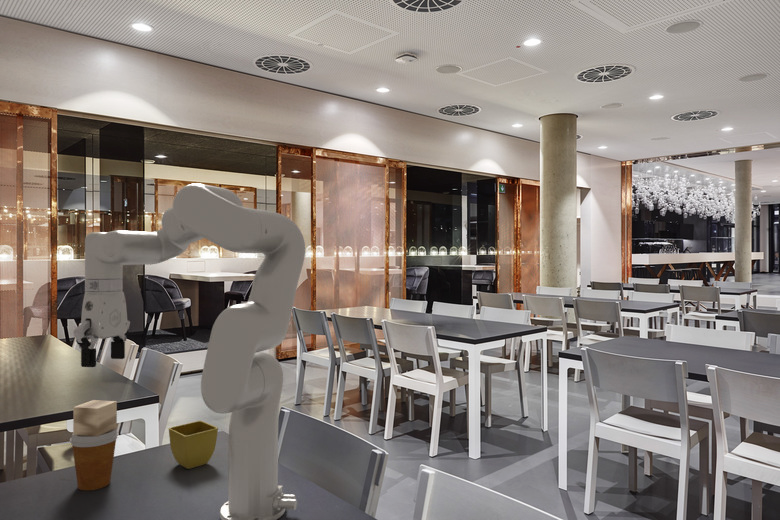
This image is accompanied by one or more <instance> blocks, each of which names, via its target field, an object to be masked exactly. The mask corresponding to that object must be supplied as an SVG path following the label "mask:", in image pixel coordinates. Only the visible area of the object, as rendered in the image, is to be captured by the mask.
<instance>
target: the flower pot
mask: <svg viewBox="0 0 780 520" xmlns="http://www.w3.org/2000/svg"><path fill="white" fill-rule="evenodd" d="M218 431H219V428H218V427H217V426H214V425H212V424H210V423H207V422H205V421H203V420H197V421H192V422H189V423H185V424H180V425H175V426H171V427H169V428H168V437H169V444H170V450H171V452H172V455H173V457H174V459H175V461H176V462H177V464H178V465H180V466H182V467H184V468H185V469H187V470H190V469H193V468H197V467H200V466H203V465H207V464H208V463H209V461H210V460H211V458H212V456H213V455H214V452H215V449H216V446H217V440H218V439H217V437H218Z"/></svg>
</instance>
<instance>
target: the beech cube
mask: <svg viewBox="0 0 780 520" xmlns="http://www.w3.org/2000/svg"><path fill="white" fill-rule="evenodd" d="M117 403H118V402H117V401H116V400H100V399H99V400H98V399H97V400H96V399H92V400H90V401H87V402H84V403H81V404H78V405H76V406H74V407H72V408H73V409H72V411H73V413H72V414H73V418H72V419H73V421H72V422H73V423H72V424H73V427H72V428H73V429H72V431H73V432H72V434H73V435H85V436H100V435H102V434H104V433H106V432H109V431H111V430H113V429H115V428H116V429H118V428H117V427H118V425H117V423H118V422H117V421H118V419H117V417H118V414H117V413H118V408H117V407H118V404H117Z"/></svg>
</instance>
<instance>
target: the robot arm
mask: <svg viewBox="0 0 780 520" xmlns="http://www.w3.org/2000/svg"><path fill="white" fill-rule="evenodd" d="M172 201H173V202H172V206H171V207H169V208H168V209H166V210H165V211H164V212H163V214H162V217H161V227H162V228H161V229H158V230H156V231H139V230H123V229H121V230H112V231H108V232H107V231H106V232H105V231H102V232H101V231H98V232H97V231H95V232H89V233H88V234H87V233H86V236H85V239H84V296H83V300H82V305H81V307H82V308H81V318H80V319H81V320H80V321H81V322H80V325H78V326H77V327H76V328H75V329H74V330H73V335H74V337H75V339H76V340H75V342H76V343H77V345H78V348H79V349H80V359H81V360H80V366H81V367H82V368H96V366H97V348H95V346H96V344H97V342H98V340H99V339H101V340H103V339H110V338H111V340H112V341H110V358H111V359H113V360H125V357H126V356H125V355H126V354H125V353H126V352H125V351H126V341H127V336H128V334H129V329H130V324H131V321H130V320H128V312H127V311H128V310H127V301H126V296H125V292H124V291H123V288H124V287H123V282H124V281H123V277H124V276H123V273H124V272H123V268H124V267H123V266H133V265H141V266H142V265H157V264H160V263H161V264H162V263H164V262H166V261H168V260H170V259H171V260H172V259H174V258H176V257H178V256H180V255H182V254H184V252H185V251H186V250H187V249H188V248H189V247H190V245H191V244H193V243H196V242H199V241H202V240H204V239H206V240H208V241H209V242H211V243H213V244H214V245H217V246H218V247H220V248H222V249H224V250H226V251H228V252H233V253H238V254H240V253H241V254H263V255H264V259H263V261H262V262H261V263H260V265H259V267H258V268H257V269H256V272H255V274H254V277H253V281H252V286H251V290H250V293H249V298H248V299H247V302H244V303H238V304H233V305H230V306H229V307H227V308H225V309H224V310H222V311H221V313H219V315H218V316H217V318H216V319H215V321H214V323H213V325H212V328H211V331H210V337H209V340H208V345H207V349H206V355H205V360H204V364H203V370H202V373H201V379H200V393H201V397H202V400H203V402H204V405H206V407H207V408H208V409H209V410H211V411H212V412H214V413H217V414H221V415H222V414H230V418H229V422H228V423H229V424H228V492H227V494H228V497H227V498H228V501H225V502H224V504H222V506H221V507H220V511H219V517H220V519H221V520H278V519H280V518H281V517H282V516H283V515H284V514H285V512H286V510H289V511H290V510H291V511H292V510H293V511H296V509H297V506H298V500H297V498H296V494H292V493H291V494H286V493H285V492H283V485H278V484H279V483H278V481H279V479H278V478H279V477H278V476H279V417H280V415H279V413H280V403H281V398H282V392H283V387H284V373H283V372H284V371H283V368H282V365H281V364H280V362H279V360H278V359H277V358H276V357H275V356H274V355H272V354H270V353H268V352H264V351H267V350H271V349H273V348H276V347H278V346H279V345H281V344H282V343H283V342H284V340H285V339H286V335H287V333H288V331H289V327H290V320H291V316H292V312H293V307H294V303H295V298H296V293H297V288H298V285H299V281H300V276H301V273H302V269H303V266H304V263H305V257H306V242H305V238H304V235H303V233H302V231H301V229H300V228H299V226H298V225H297V224H296V223H295V222H294V221H293V220H292V219H291V218H289V217H288V216H285V215H284V214H281V213H278V212H275V211H272V210H267V209H266V210H265V209H257V208H252V207H251V208H250V207H244V206H243V202H242V200H241V198H240V197H239V196H238V195H237V194H236V193H235V192H233V191H232V190H230V189H228V188H224V187H220V186H215V185H210V184H209V185H208V184H203V183H198V182H197V183H191V184H190V183H189V184H187V185H185V186H183V187H182V188H181V189H180V190H178V191H177V192H176V194H175V196H174V199H173V200H172ZM89 340H90V341H89Z"/></svg>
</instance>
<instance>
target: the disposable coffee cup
mask: <svg viewBox="0 0 780 520" xmlns="http://www.w3.org/2000/svg"><path fill="white" fill-rule="evenodd" d="M117 429H118V428H115V429H113V430H111V431H109V432H106V433H104V434H102V435H100V436H85V435H73V433H72V435H71V437H70V438H69V442H70V444H71V446H72V447H71V448H72V454H73V455H72V456H73V460H74V468H75V475H76V482H77V483H76V484H77V488H78V489H79V490H81V491H94V490H95V491H96V490H99V489H102V488H105V487H107V486H108V485H110V483H111V478H112V471H113V465H114V457H115V450H116V442H117V439H118V436H119V431H118V430H117Z"/></svg>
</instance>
